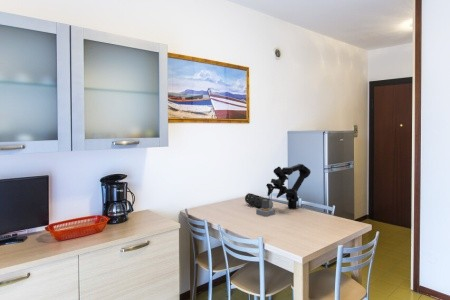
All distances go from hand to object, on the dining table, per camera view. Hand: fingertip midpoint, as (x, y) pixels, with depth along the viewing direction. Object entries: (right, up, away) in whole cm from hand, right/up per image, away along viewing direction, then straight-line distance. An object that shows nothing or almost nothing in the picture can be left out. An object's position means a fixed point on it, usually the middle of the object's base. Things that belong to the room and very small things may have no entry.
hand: (272, 196), depth 241 cm
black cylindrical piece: (-9, -12, +18) cm, 24 cm away
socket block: (-6, -14, -4) cm, 15 cm away
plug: (-6, -13, -5) cm, 15 cm away
